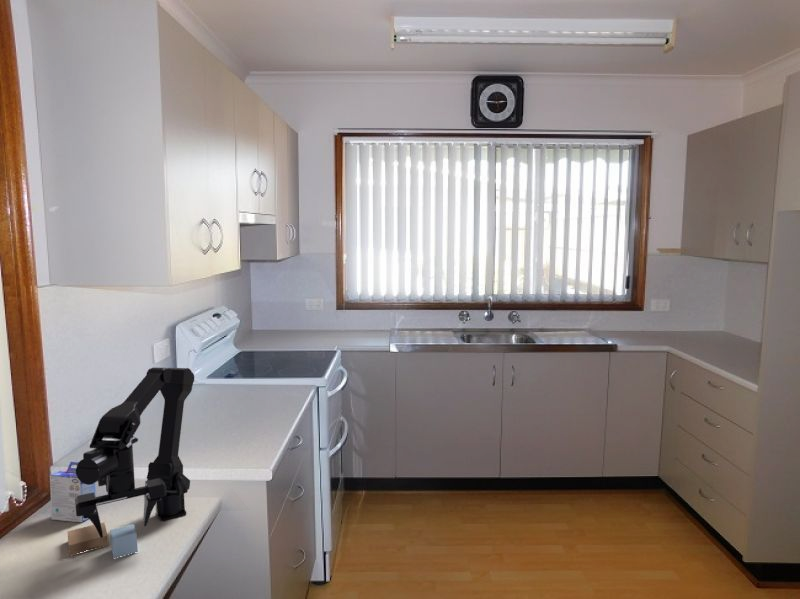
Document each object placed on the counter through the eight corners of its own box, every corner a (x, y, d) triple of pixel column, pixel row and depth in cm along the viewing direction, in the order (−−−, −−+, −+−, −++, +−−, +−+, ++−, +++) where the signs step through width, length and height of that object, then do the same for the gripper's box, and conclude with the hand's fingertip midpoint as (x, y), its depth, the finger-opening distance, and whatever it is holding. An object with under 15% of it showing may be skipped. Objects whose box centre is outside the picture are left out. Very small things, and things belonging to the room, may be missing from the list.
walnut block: (105, 533, 138) (104, 522, 138) (108, 547, 132) (107, 535, 131) (68, 543, 134) (67, 531, 134) (69, 557, 127) (68, 545, 127)
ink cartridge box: (98, 513, 148) (95, 461, 147) (82, 523, 143) (79, 469, 142) (67, 510, 150) (64, 459, 149) (50, 520, 145) (47, 467, 144)
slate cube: (134, 544, 132) (133, 524, 132) (137, 553, 128) (136, 532, 128) (111, 550, 130) (110, 529, 129) (113, 559, 126) (112, 538, 125)
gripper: (157, 448, 139) (160, 507, 140) (71, 464, 129) (76, 528, 130) (165, 462, 130) (168, 525, 131) (74, 480, 120) (78, 549, 121)
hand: (123, 531), depth 129 cm, fingers open, 9 cm apart
